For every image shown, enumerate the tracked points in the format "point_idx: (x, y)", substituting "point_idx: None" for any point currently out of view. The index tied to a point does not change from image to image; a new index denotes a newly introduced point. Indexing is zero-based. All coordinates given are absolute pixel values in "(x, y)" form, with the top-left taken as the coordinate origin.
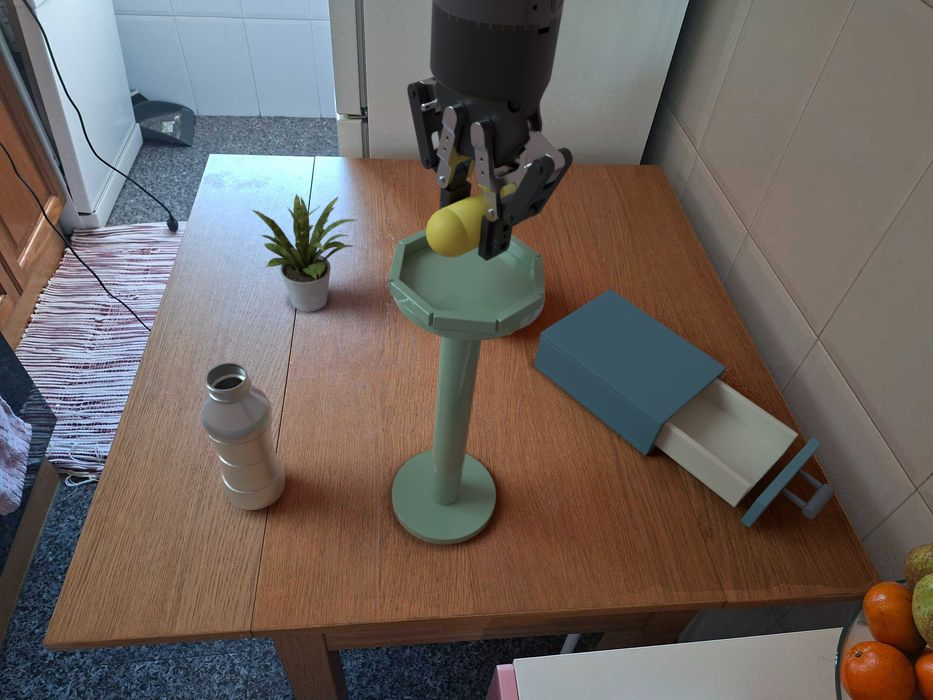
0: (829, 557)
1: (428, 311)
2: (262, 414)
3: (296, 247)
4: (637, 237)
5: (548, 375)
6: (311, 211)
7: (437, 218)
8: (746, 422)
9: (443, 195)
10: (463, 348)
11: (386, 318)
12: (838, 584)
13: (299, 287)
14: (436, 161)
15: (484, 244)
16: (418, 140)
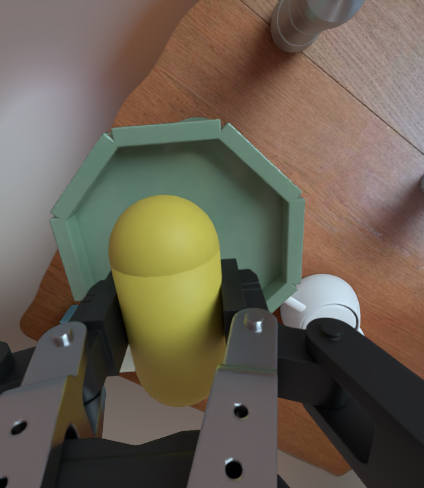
0: (38, 325)
1: (117, 132)
2: (308, 2)
3: None
4: (297, 418)
5: None
6: None
7: (168, 235)
8: (124, 358)
9: (242, 299)
10: None
11: (368, 224)
12: (23, 316)
13: None
14: (307, 353)
15: (106, 282)
16: (399, 369)
